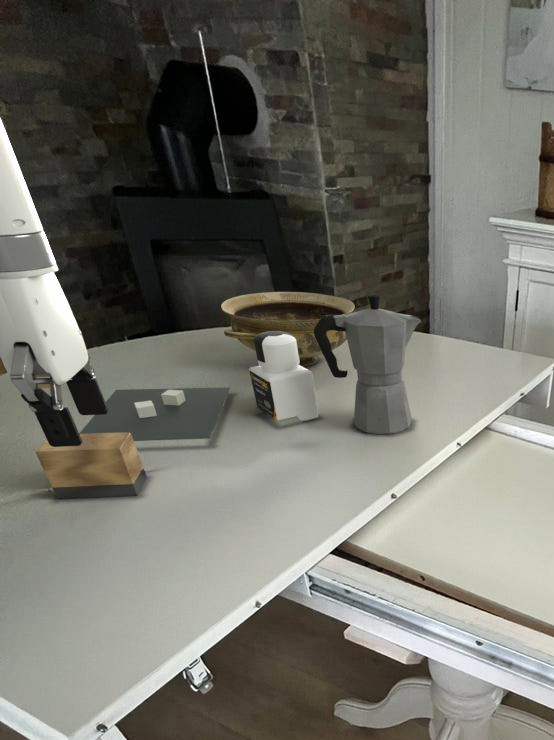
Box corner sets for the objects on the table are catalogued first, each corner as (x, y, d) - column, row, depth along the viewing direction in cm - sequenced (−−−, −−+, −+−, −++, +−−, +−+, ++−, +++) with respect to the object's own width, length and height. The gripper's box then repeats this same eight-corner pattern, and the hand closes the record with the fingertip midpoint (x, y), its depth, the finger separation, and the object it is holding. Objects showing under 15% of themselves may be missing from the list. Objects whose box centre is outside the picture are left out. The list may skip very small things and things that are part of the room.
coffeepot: (415, 409, 98) (411, 285, 86) (431, 430, 91) (429, 299, 80) (322, 418, 94) (304, 289, 82) (332, 441, 87) (314, 304, 75)
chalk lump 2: (164, 404, 92) (160, 394, 91) (171, 399, 94) (168, 389, 93) (178, 405, 92) (175, 395, 91) (185, 400, 94) (183, 390, 93)
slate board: (74, 451, 81) (71, 442, 80) (118, 397, 97) (116, 389, 97) (211, 446, 84) (209, 438, 83) (232, 394, 100) (230, 387, 99)
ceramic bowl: (281, 393, 101) (269, 330, 95) (193, 366, 111) (178, 306, 104) (393, 356, 121) (390, 301, 114) (311, 335, 130) (304, 283, 124)
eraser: (57, 499, 71) (34, 451, 67) (71, 481, 74) (50, 434, 71) (137, 495, 72) (119, 448, 68) (147, 477, 76) (130, 432, 72)
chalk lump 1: (139, 418, 88) (136, 407, 87) (137, 413, 89) (133, 402, 88) (157, 416, 89) (153, 405, 88) (154, 410, 90) (151, 400, 89)
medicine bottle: (257, 414, 94) (240, 331, 86) (298, 405, 98) (285, 325, 90) (277, 428, 90) (261, 343, 82) (319, 418, 94) (307, 336, 86)
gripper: (3, 243, 63) (72, 405, 74) (-83, 270, 50) (15, 461, 61) (78, 243, 64) (135, 402, 75) (13, 269, 51) (93, 457, 62)
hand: (81, 428), depth 68 cm, fingers open, 9 cm apart
